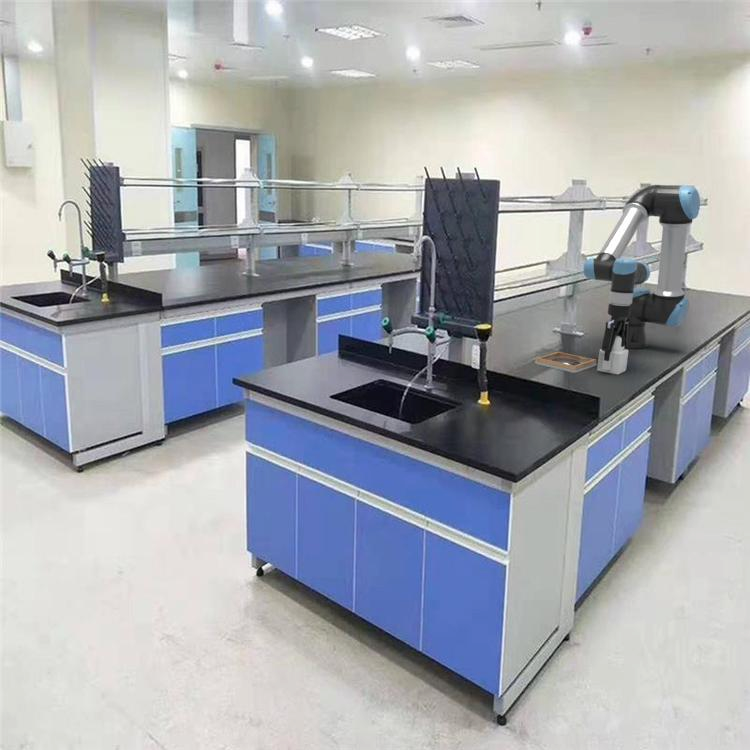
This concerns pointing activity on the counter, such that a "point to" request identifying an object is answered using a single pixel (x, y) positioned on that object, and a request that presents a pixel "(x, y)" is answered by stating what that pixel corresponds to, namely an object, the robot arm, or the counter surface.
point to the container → (615, 357)
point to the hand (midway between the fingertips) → (611, 367)
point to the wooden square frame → (566, 362)
